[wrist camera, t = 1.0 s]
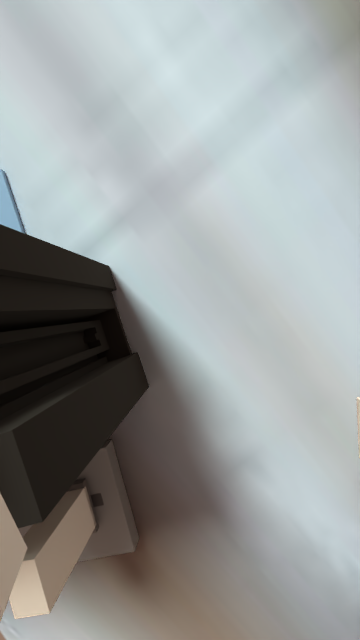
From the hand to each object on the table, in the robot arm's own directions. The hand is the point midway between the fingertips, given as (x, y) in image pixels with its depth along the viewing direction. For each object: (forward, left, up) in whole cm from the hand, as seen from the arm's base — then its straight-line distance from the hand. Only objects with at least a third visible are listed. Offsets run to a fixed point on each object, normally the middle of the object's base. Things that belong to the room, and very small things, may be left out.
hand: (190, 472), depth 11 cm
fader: (-12, +17, -20) cm, 29 cm away
